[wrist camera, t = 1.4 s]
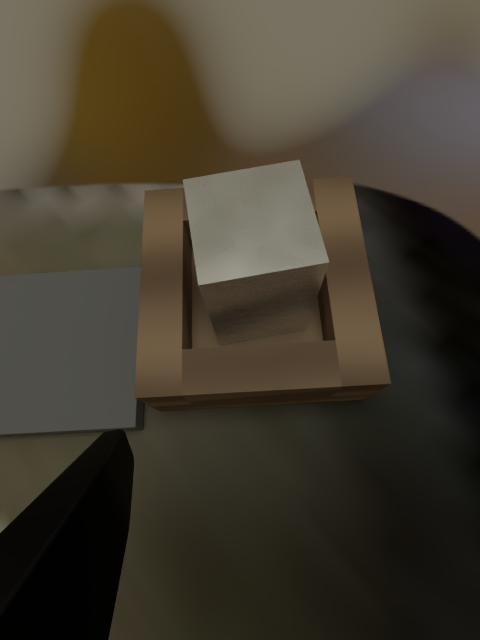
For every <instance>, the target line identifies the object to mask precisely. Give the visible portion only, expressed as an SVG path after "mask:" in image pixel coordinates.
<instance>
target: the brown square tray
mask: <svg viewBox="0 0 480 640" xmlns="http://www.w3.org/2000/svg"><path fill="white" fill-rule="evenodd" d="M305 180H306V184H307V187H308V191H309V194H310V197H311V201H312V204H313V208H314V211H315V215H316V218H317V221H318V225H319V228H320V232H321V235H322V239H323V242H324V245H325V249H326V252H327V256H328V259H329V265H328V268H327V270H326V273H325V276H324V279H323V282H322V284H321V287H320V290H319V293H318V296H317V298H316V301H315V304H314V307H313V310H312V313H311V315H310V318H309V321H308V324H307V327H306V329H305V331H300V332H295V333H289V334H283V335H278V336H272V337H267V338H261V339H255V340H250V341H244V342H239V343H233V344H227V345H222V346H219V343H218V340H217V337H216V335H215V332H214V329H213V326H212V323H211V320H210V317H209V315H208V312H207V309H206V306H205V303H204V300H203V297H202V295H201V292H200V289H199V286H198V280H197V273H196V266H195V260H194V253H193V246H192V239H191V232H190V225H189V219H188V212H187V205H186V198H185V191H184V188H177V189H163V190H149V191H145V197H144V217H143V236H142V256H141V276H140V296H139V316H138V336H137V356H136V376H135V396H134V398H135V399H137V400H139V401H141V402H143V403H145V404H147V405H149V406H151V407H153V408H155V409H158V410H160V411H169V410H187V409H205V408H223V407H241V406H259V405H277V404H295V403H314V402H332V401H350V400H364V399H365V398H367V397H369V396H370V395H372V394H374V393H376V392H377V391H379V390H381V389H383V388H384V387H386V386H388V385H390V384H391V381H390V375H389V370H388V365H387V360H386V354H385V349H384V344H383V339H382V333H381V328H380V323H379V317H378V312H377V307H376V302H375V296H374V291H373V286H372V281H371V275H370V270H369V265H368V259H367V254H366V249H365V244H364V238H363V233H362V228H361V223H360V217H359V212H358V207H357V201H356V196H355V191H354V186H353V181H352V177H351V176H345V177H330V178H316V179H305Z"/></svg>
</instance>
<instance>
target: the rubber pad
mask: <svg viewBox="0 0 480 640" xmlns="http://www.w3.org/2000/svg"><path fill="white" fill-rule="evenodd" d="M140 276H141V266H140V267H125V268H110V269H95V270H80V271H65V272H50V273H35V274H20V275H4V276H0V437H8V436H27V435H45V434H64V433H82V432H101V431H109V430H114V429H123V430H138V429H143V421H144V403H143V402H141V401H139V400H137V399H135V398H134V396H135V376H136V356H137V336H138V316H139V296H140Z"/></svg>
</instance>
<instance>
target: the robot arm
mask: <svg viewBox="0 0 480 640" xmlns="http://www.w3.org/2000/svg"><path fill="white" fill-rule="evenodd" d="M133 472H134V457H133V453H132V450H131V448H130V445H129V442H128V439H127V436H126V434H125V432H124V430H123V429H114V430H109V431H105V432H104V433H102V434H101V435H100V436H99V437H98V438H97V439H96V440H95V441H94V442H93V443H92V444H91V445H90V446H89V447H88V448H87V449H86V450H85V451H84V452H83V453H82V454H81V455H80V456H79V457H78V458H77V459H76V460H75V461H74V462H73V463H72V464H71V465H70V466H69V467H68V468H67V469H65V470H64V471H63V472H62V473H61V474H60V475H59V476H58V477H57V478H56V479H55V480H54V481H53V482H52V483H51V484H50V485H49V486H48V487H47V488H46V489H45V490H44V491H43V492H42V493H41V494H40V495H39V496H38V497H37V498H36V499H35V500H34V501H33V502H32V503H31V504H30V505H29V506H28V507H27V508H25V509H24V510H23V511H22V512H21V513H20V514H19V515H18V516H17V517H16V518H15V519H14V520H13V521H12V522H11V523H10V524H9V525H8V526H7V527H6V528H5V529H4V530H3V531H2V532H1V533H0V640H108V639H109V633H110V628H111V623H112V617H113V612H114V607H115V602H116V596H117V591H118V586H119V580H120V575H121V570H122V564H123V559H124V554H125V548H126V543H127V538H128V531H129V523H130V512H131V499H132V486H133Z"/></svg>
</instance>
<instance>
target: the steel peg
mask: <svg viewBox="0 0 480 640" xmlns="http://www.w3.org/2000/svg"><path fill="white" fill-rule="evenodd" d="M183 184H184V191H185V198H186V205H187V212H188V219H189V225H190V232H191V239H192V246H193V253H194V260H195V266H196V273H197V280H198V286H199V289H200V292H201V295H202V297H203V300H204V303H205V306H206V309H207V312H208V315H209V317H210V320H211V323H212V326H213V329H214V332H215V335H216V337H217V340H218V343H219V346H222V345H227V344H233V343H239V342H244V341H250V340H255V339H261V338H267V337H272V336H278V335H283V334H289V333H295V332H300V331H305V329H306V327H307V324H308V321H309V318H310V315H311V313H312V310H313V307H314V304H315V301H316V298H317V296H318V293H319V290H320V287H321V284H322V282H323V279H324V276H325V273H326V270H327V268H328V265H329V259H328V256H327V252H326V249H325V245H324V242H323V239H322V235H321V232H320V228H319V225H318V221H317V218H316V215H315V211H314V208H313V204H312V201H311V197H310V194H309V191H308V187H307V184H306V180H305V177H304V173H303V170H302V167H301V163H300V160H295V161H289V162H283V163H278V164H272V165H266V166H260V167H254V168H249V169H243V170H237V171H231V172H225V173H219V174H214V175H208V176H202V177H196V178H191V179H184V180H183Z"/></svg>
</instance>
